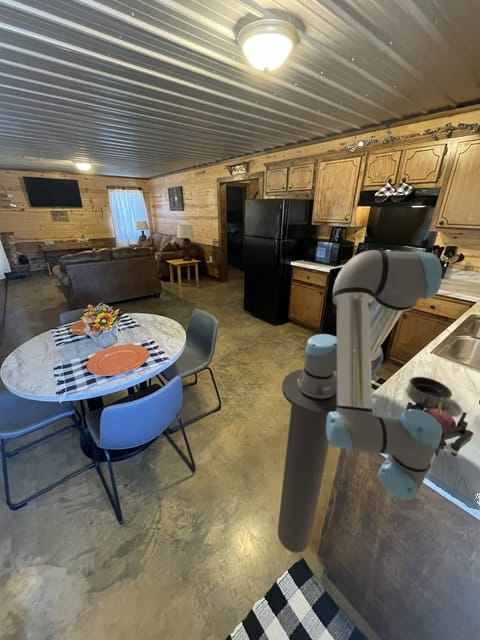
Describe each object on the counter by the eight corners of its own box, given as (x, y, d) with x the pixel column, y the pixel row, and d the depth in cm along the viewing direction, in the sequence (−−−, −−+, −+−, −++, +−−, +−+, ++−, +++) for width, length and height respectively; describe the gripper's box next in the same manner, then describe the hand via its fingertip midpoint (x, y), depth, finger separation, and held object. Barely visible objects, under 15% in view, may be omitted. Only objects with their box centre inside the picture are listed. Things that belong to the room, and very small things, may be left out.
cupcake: (438, 446, 75) (452, 414, 70) (410, 425, 82) (421, 394, 77) (457, 437, 78) (471, 405, 73) (428, 418, 85) (440, 387, 80)
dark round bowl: (401, 396, 103) (404, 385, 101) (413, 382, 111) (416, 372, 109) (441, 415, 94) (445, 404, 92) (451, 399, 101) (456, 388, 100)
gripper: (373, 433, 75) (404, 399, 89) (465, 489, 60) (485, 438, 74) (379, 413, 72) (410, 381, 86) (477, 467, 57) (496, 418, 71)
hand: (445, 407), depth 80 cm, fingers closed on cupcake, 8 cm apart
